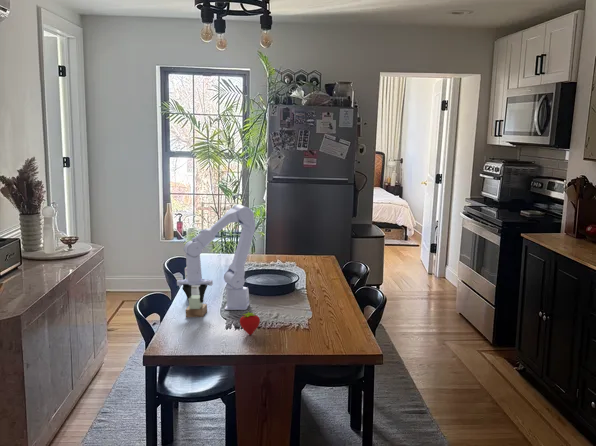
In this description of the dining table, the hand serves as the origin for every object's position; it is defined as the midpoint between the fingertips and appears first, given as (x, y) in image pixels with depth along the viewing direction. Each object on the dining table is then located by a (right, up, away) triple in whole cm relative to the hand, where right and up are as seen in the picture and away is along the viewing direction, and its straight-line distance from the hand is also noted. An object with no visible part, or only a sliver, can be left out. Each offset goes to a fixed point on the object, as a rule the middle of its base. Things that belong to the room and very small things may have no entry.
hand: (195, 301), depth 213 cm
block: (0, -6, +1) cm, 6 cm away
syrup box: (-5, -1, +24) cm, 25 cm away
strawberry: (+25, -9, -22) cm, 34 cm away
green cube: (0, -2, 0) cm, 2 cm away
